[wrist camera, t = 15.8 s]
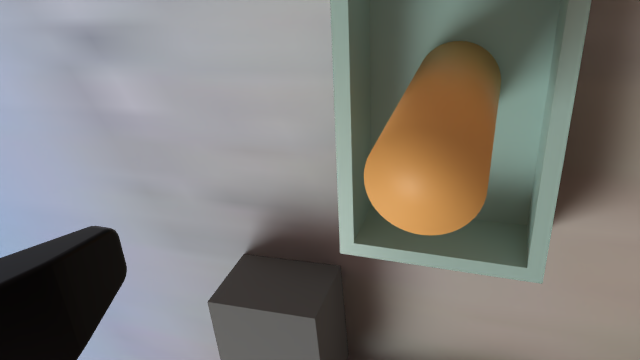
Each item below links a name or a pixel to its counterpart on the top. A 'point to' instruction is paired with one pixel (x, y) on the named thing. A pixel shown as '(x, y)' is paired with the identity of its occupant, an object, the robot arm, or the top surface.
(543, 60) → the tray
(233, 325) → the block
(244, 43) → the top surface
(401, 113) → the pin
